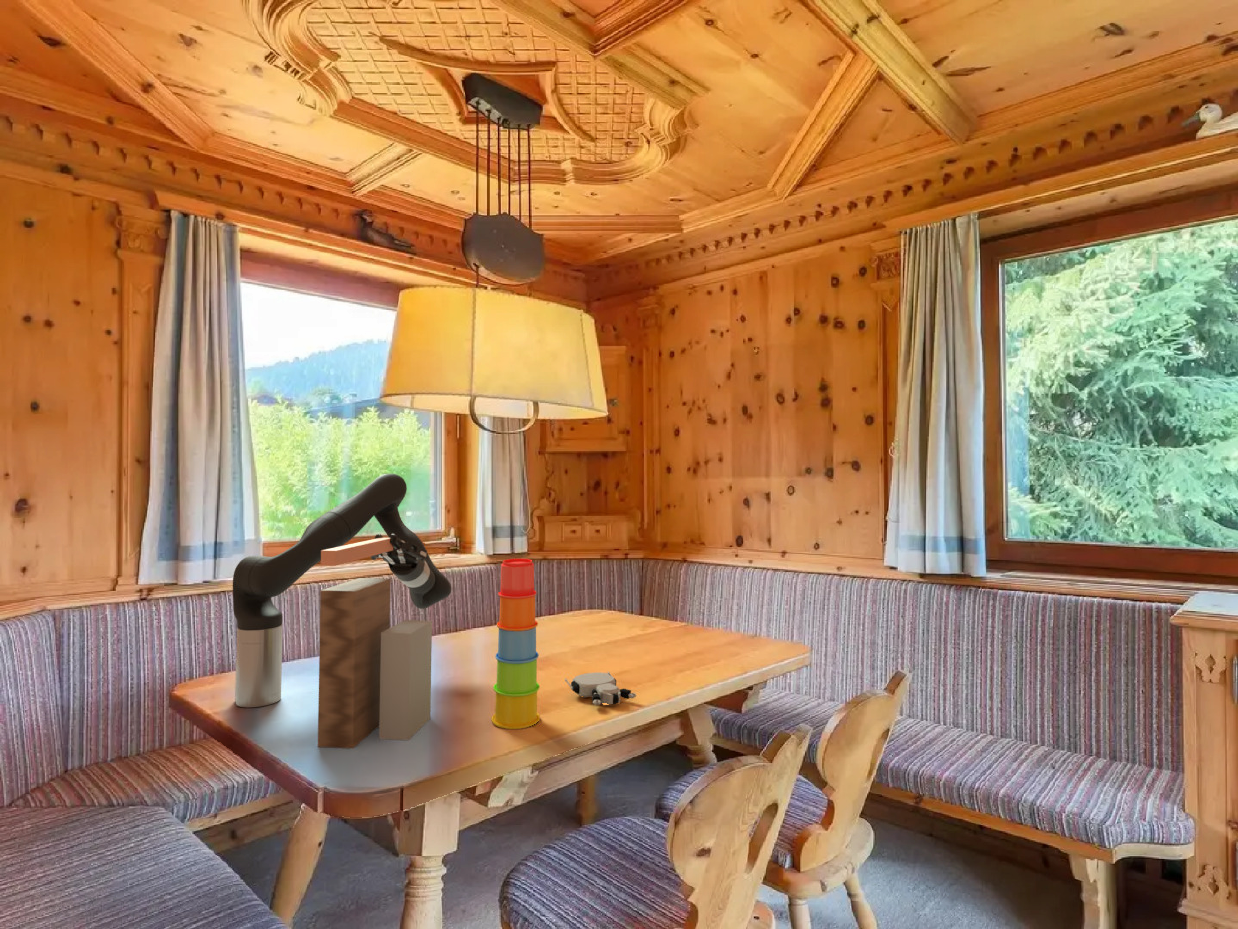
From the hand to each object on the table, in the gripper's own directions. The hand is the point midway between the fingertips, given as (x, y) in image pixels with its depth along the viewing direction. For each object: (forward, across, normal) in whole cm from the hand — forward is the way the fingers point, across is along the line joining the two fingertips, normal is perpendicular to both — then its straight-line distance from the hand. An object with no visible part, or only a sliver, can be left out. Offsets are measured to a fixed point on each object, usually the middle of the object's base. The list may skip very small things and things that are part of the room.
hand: (384, 538), depth 150 cm
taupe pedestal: (-11, +10, +38) cm, 41 cm away
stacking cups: (-17, +31, +35) cm, 50 cm away
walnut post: (-8, 0, +40) cm, 40 cm away
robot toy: (-31, +48, +27) cm, 63 cm away
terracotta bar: (+9, 0, +8) cm, 12 cm away
